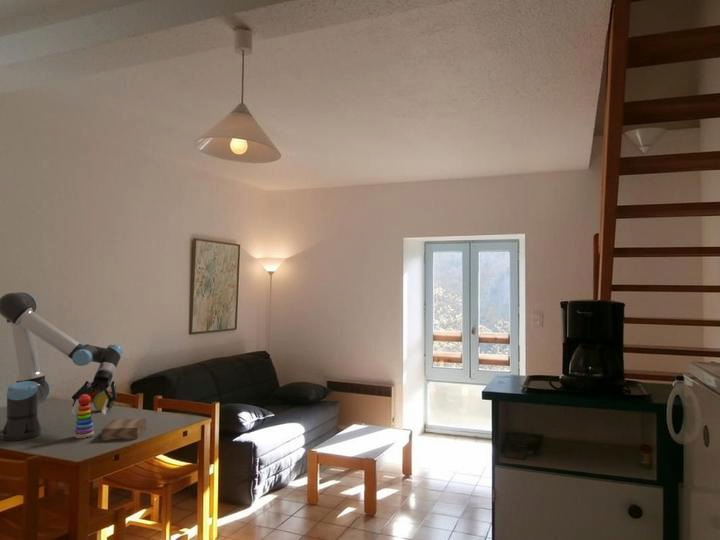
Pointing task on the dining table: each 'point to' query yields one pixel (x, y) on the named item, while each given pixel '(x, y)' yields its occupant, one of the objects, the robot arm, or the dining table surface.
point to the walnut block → (123, 429)
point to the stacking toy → (84, 418)
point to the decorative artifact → (101, 401)
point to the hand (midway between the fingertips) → (88, 413)
